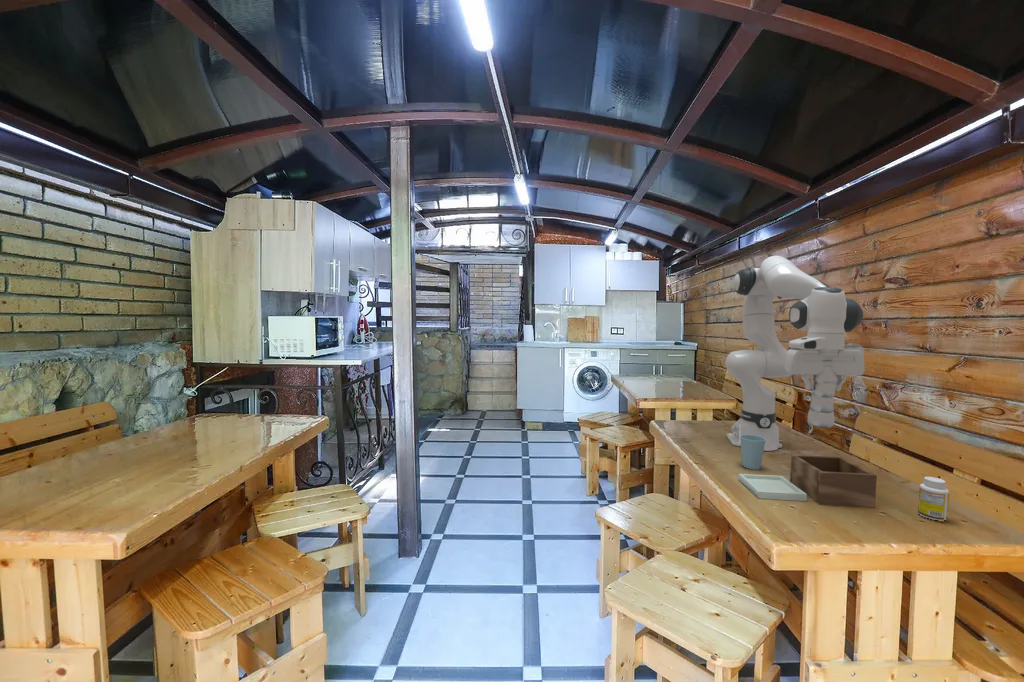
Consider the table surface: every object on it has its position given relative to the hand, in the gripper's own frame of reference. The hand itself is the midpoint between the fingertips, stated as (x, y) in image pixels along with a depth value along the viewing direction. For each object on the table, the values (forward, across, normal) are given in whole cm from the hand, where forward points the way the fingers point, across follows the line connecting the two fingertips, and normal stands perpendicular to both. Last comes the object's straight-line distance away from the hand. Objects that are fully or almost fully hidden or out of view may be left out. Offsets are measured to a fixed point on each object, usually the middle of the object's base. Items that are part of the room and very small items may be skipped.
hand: (822, 390), depth 124 cm
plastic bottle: (+11, 0, 0) cm, 11 cm away
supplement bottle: (+31, -21, +13) cm, 40 cm away
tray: (+31, +13, -1) cm, 34 cm away
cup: (+31, +10, -21) cm, 39 cm away
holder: (+31, -3, 0) cm, 31 cm away
